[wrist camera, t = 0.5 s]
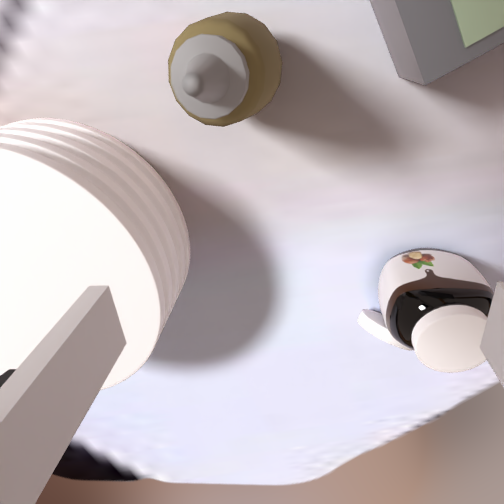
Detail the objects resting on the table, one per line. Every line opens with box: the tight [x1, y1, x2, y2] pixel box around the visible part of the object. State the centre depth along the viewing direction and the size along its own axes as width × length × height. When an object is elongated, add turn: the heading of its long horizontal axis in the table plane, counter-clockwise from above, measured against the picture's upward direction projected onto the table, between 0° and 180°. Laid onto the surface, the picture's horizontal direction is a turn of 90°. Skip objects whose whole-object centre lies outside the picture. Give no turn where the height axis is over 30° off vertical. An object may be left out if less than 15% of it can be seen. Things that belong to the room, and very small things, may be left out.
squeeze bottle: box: [168, 12, 282, 127], centre depth 27 cm, size 8×8×18 cm
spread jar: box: [357, 248, 494, 373], centre depth 39 cm, size 12×11×12 cm
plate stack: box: [0, 118, 190, 390], centre depth 41 cm, size 28×28×12 cm
